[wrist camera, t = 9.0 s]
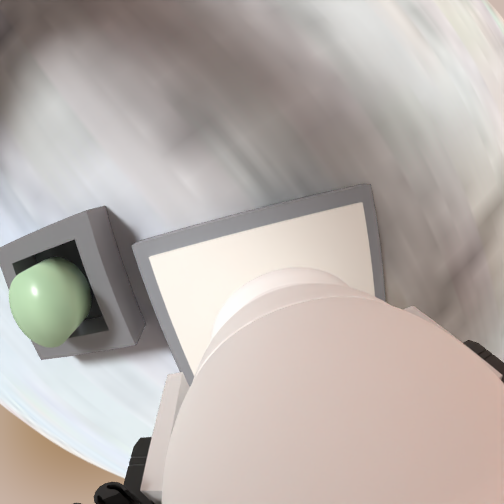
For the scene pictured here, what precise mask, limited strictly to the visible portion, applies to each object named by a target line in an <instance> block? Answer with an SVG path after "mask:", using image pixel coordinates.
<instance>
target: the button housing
mask: <svg viewBox="0 0 504 504" xmlns="http://www.w3.org/2000/svg"><path fill="white" fill-rule="evenodd" d="M74 239H75V242H76V245H77V248H78V251H79V254H80V257H81V260H82V263H83V266H84V269H85V271H86V274H87V277H88V280H89V282H90V285H91V288H92V290H93V293H94V295H95V298H96V300H97V303H98V305H99V308H100V310H101V312H102V315H103V316H101V317H97V318H92V319H87V320H84V321H83V322H82V323H81V324H80V325H79V326H78V327H77V329H76V330H75V331H74V332H73V333H72V334H71V335H70V336H69V338H68V339H67V340H66V341H65V342H64V343H63V344H62V345H60V346H58V347H53V348H49V347H44V346H41V345H39V344H37V343H35V342H33V341H32V340H31V341H32V343H33V345H34V347H35V349H36V351H37V353H38V355H39V357H40V358H41V360H43V359H52V358H59V357H67V356H74V355H80V354H87V353H93V352H100V351H106V350H112V349H117V348H123V347H129V346H134V345H136V343H137V341H138V339H139V337H140V335H141V334H142V332H143V330H144V328H145V326H146V323H145V321H144V319H143V316H142V314H141V311H140V309H139V306H138V304H137V301H136V298H135V296H134V293H133V290H132V288H131V285H130V282H129V279H128V277H127V274H126V271H125V268H124V265H123V262H122V259H121V256H120V253H119V250H118V247H117V244H116V241H115V238H114V234H113V231H112V228H111V224H110V221H109V217H108V214H107V210H106V207H105V206H102V207H98V208H94V209H90V210H86V211H83V212H81V213H78V214H76V215H73V216H71V217H68V218H66V219H63V220H61V221H58V222H56V223H53V224H51V225H49V226H46V227H44V228H42V229H39V230H37V231H35V232H33V233H30V234H28V235H26V236H24V237H21V238H19V239H17V240H15V241H13V242H11V243H9V244H6V245H4V246H2V247H0V266H1V269H2V272H3V275H4V278H5V280H6V283H7V286H8V288H9V289H10V285H11V283H12V281H13V279H14V278H15V277H16V276H17V275H18V274H19V273H21V272H23V271H25V270H27V269H29V268H30V267H32V266H34V265H36V264H37V262H36V259H35V256H34V255H35V254H37V253H40V252H42V251H45V250H47V249H50V248H53V247H55V246H58V245H61V244H63V243H66V242H69V241H72V240H74Z"/></svg>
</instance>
